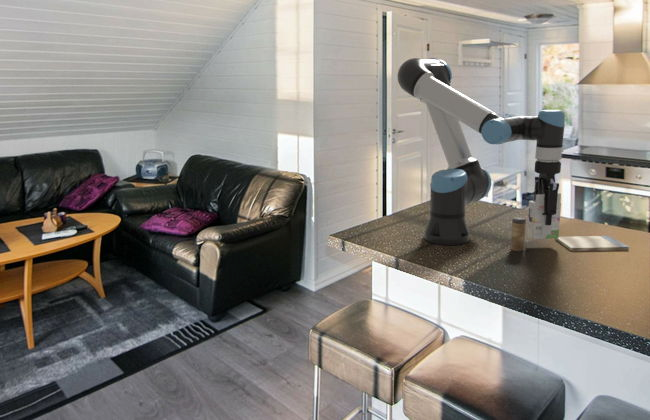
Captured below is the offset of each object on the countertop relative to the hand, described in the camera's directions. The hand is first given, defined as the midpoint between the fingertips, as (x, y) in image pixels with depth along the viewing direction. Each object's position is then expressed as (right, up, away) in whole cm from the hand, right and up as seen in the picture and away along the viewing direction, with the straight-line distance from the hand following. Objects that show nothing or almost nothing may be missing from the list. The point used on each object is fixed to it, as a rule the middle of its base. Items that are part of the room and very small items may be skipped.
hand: (542, 231), depth 167 cm
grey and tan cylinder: (-9, -6, -1) cm, 10 cm away
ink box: (0, -2, +1) cm, 2 cm away
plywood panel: (+16, -4, +2) cm, 17 cm away
